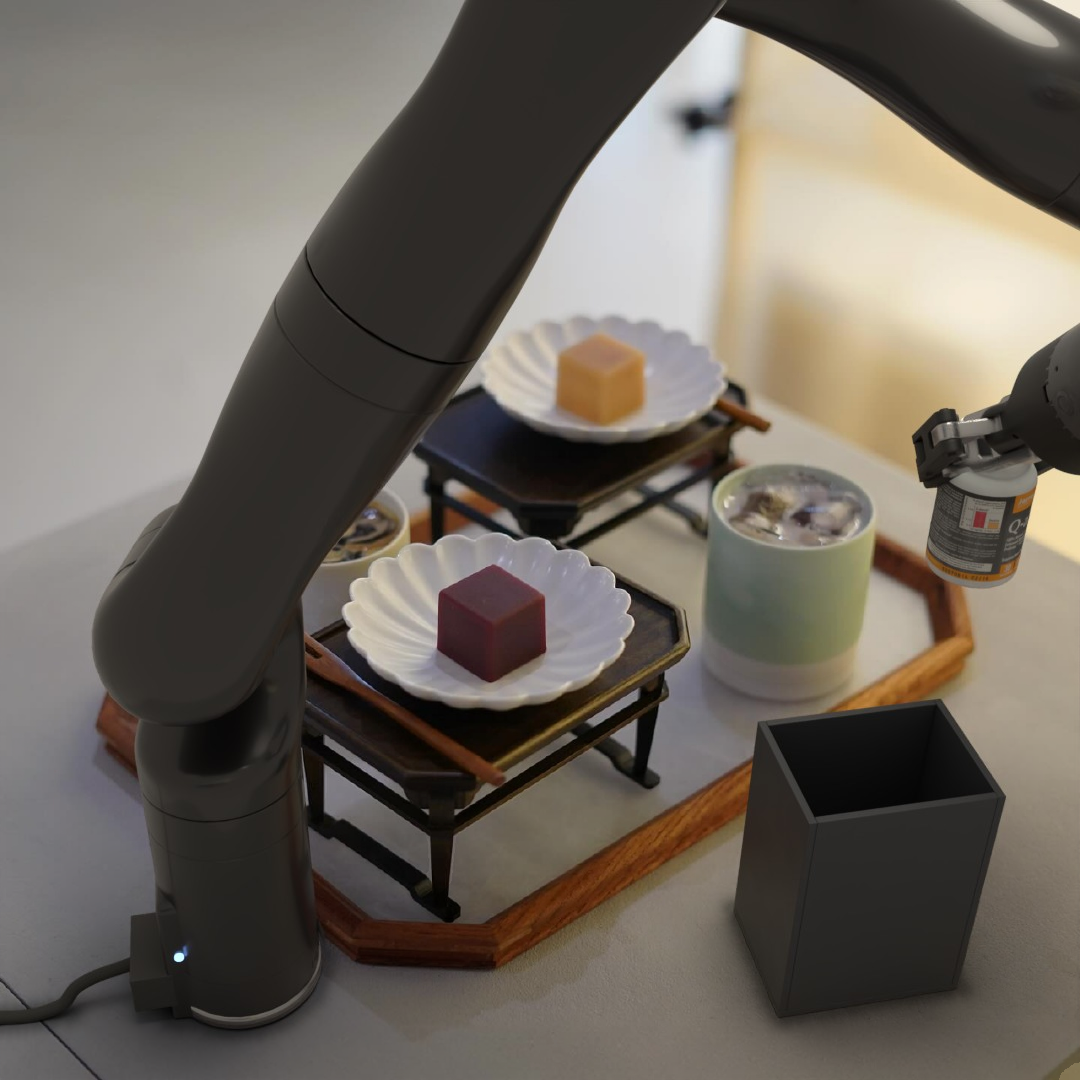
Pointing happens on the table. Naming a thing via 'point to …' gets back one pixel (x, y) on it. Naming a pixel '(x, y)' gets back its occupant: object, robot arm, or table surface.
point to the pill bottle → (981, 525)
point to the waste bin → (864, 854)
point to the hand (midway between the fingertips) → (974, 467)
